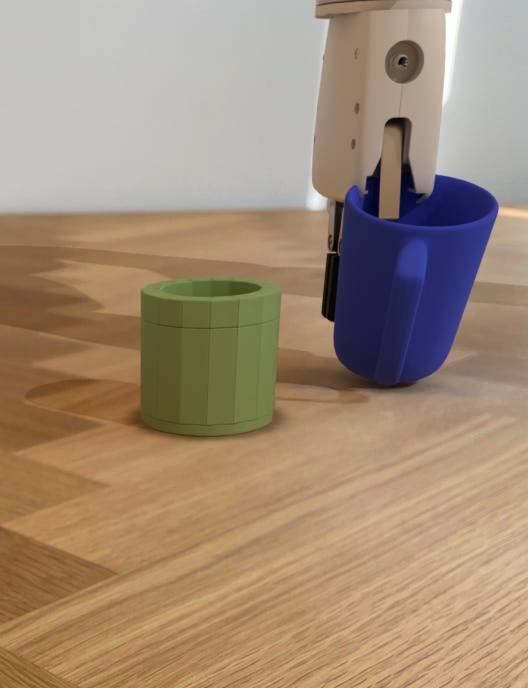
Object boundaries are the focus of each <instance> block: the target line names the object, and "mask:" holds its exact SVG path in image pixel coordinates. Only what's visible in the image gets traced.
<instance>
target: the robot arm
mask: <svg viewBox="0 0 528 688" xmlns="http://www.w3.org/2000/svg"><path fill="white" fill-rule="evenodd" d="M452 7H453V0H315V8H314V19H318V20H329V21H328V24H327V25H328V27H327V31H326V38H325V46H324V50H323V51H324V53H323V55H322V65H321V73H320V82H319V89H318V98H317V106H316V114H315V122H314V123H315V124H314V134H313V143H312V144H313V145H312V159H311V160H312V162H311V184H312V187H313V189H314V190H315V191H316V192H317V193H318V194H319V195H320V196H322V197H323V198H326V199H327V200H326V211H327V214H328V223H327V224H328V225H327V239H326V241H327V242H326V246H327V251H328V252H326V260H325V270H324V278H323V280H324V281H323V290H322V299H321V300H322V301H321V310H320V311H321V312H320V314H321V316H322V317H323V318H325V319H326V320H328V322H331V323H334V320H335V309H336V297H337V285H338V273H339V262H340V250H341V238H342V226H343V214H344V203H345V196H346V194H347V192H348V190H349V189H350V188H351V187H352V186H353V185H356V186H357V188H358V191H359V196H360V199H361V200H362V198H363V196H364V194H367V193H368V190H365V185H366V179H368V178H371V177H374V188H373V200H372V206H371V212H370V215H372V216H374V217H377V218H380V219H383V220H386V221H390V222H395V223H398V222H399V209H400V187H401V173H412V178H413V183H414V189H412V188H408V190H407V191H408V192H412V193H424V195H423V196H422V197H421V198H420V199H418V200H416V204H418V203H423V202H424V201H425V200H426V199H428V198H429V196H430V195H431V194H432V192H433V188H434V182H435V174H437V173H436V172H437V164H438V163H437V162H438V155H439V143H440V134H441V123H442V111H443V101H444V88H445V75H446V74H445V73H446V51H447V50H446V48H447V47H446V45H447V43H446V42H447V41H446V40H447V32H446V31H447V30H446V29H447V27H446V25H447V24H446V23H447V21H446V14H450V13H452Z"/></svg>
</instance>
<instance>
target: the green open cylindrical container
mask: <svg viewBox="0 0 528 688" xmlns="http://www.w3.org/2000/svg"><path fill="white" fill-rule="evenodd" d="M282 288H283V287H282V286H281V285H279V284H278V283H276V282H274V281H268V280H264V279H259V278H249V277H238V276H237V277H236V276H202V277H201V276H200V277H185V278H184V277H183V278H175V279H168V280H167V279H166V280H161V281H157V282H153V283H149V284H147V285H145V286H144V287H142V288H141V289H140V385H139V386H140V392H139V393H140V394H139V395H140V398H139V399H140V402H139V403H140V404H139V405H140V409H141V410H140V411H141V413H140V414H141V416H140V417H141V421H142V422H143V423H144V424H145V425H146V426H148V427H149V428H152V429H155V430H157V431H160V432H164V433H168V434H175V435H182V436H193V437H194V436H195V437H217V436H218V437H221V436H233V435H239V434H240V435H241V434H245V433H249V432H253V431H257V430H260V429H262V428H264V427H266V426H268V425H269V424H271V422H272V421H273V416H274V408H275V404H276V389H277V374H278V373H277V372H278V359H279V358H278V355H279V341H280V326H281V325H280V324H281V308H282V307H281V306H282V290H283V289H282Z"/></svg>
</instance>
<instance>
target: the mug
mask: <svg viewBox="0 0 528 688" xmlns="http://www.w3.org/2000/svg"><path fill="white" fill-rule="evenodd" d="M373 188H374V177H371V178H368V179H366V185H365V190H368V193H367V194H364V196H363V198H362V200H361V199H360V196H359V191H358V188H357V186H356V185H353V186H352V187H351V188H350V189H349V190H348V192H347V194H346V196H345V203H344V214H343V226H342V238H341V250H340V262H339V273H338V285H337V297H336V309H335V320H334V322H333V332H332V333H333V335H332V336H333V337H332V339H333V349H334V353H335V355H336V358H337V359H338V361H339V363H341V365H342V366H343V367H345V369H347V370H348V371H349V372H351V373H353V374H355V375H357V376H359V377H362V378H365V379H368V380H371V381H374V382H375V383H377V385H378V384H379V385H382V386H395V385H397V384H398V383H402V384H403V383H411V382H416V381H420V380H422V379H425V378H427V377H429V376H431V375H433V374H434V373H436V372H437V371H438V370H439V369H440V368H441V367H442V366H443V364H444V363H445V362H446V360H447V358H448V357H449V354H450V352H451V350H452V348H453V344H454V342H455V339H456V337H457V333H458V330H459V327H460V325H461V321H462V318H463V315H464V314H465V313H464V312H465V310H466V307H467V305H468V301H469V297H470V295H471V292H472V290H473V287H474V283H475V281H476V278H477V276H478V272H479V271H480V270H479V269H480V267H481V264H482V261H483V258H484V255H485V252H486V249H487V246H488V244H489V240H490V238H491V235H492V231H493V230H494V229H493V228H494V226H495V224H496V220H497V218H498V214H499V210H500V208H499V207H500V206H499V202H498V200H497V199H496V197H495V196H494V195H493V194H492V193H491V192H490V191H489V190H488V189H485V188H483V187H481V186H479V185H478V184H476V183H473V182H471V181H468V180H465V179H461V178H457V177H453V176H448V175H443V174H437V173H436V174H435V182H434V188H433V192H432V194H431V195H430V196H429V198H428V199H426V200H425V201H424V202H423V203H418V204H416V200H418V199H420V198H421V197H422V196H423V195H424V193H412V192H408V191H407V190H408V188H412V189H414V183H413V178H412V173H401V187H400V209H399V222H398V223H395V222H390V221H386V220H383V219H380V218H377V217H374V216H372V215H370V212H371V206H372V200H373Z"/></svg>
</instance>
